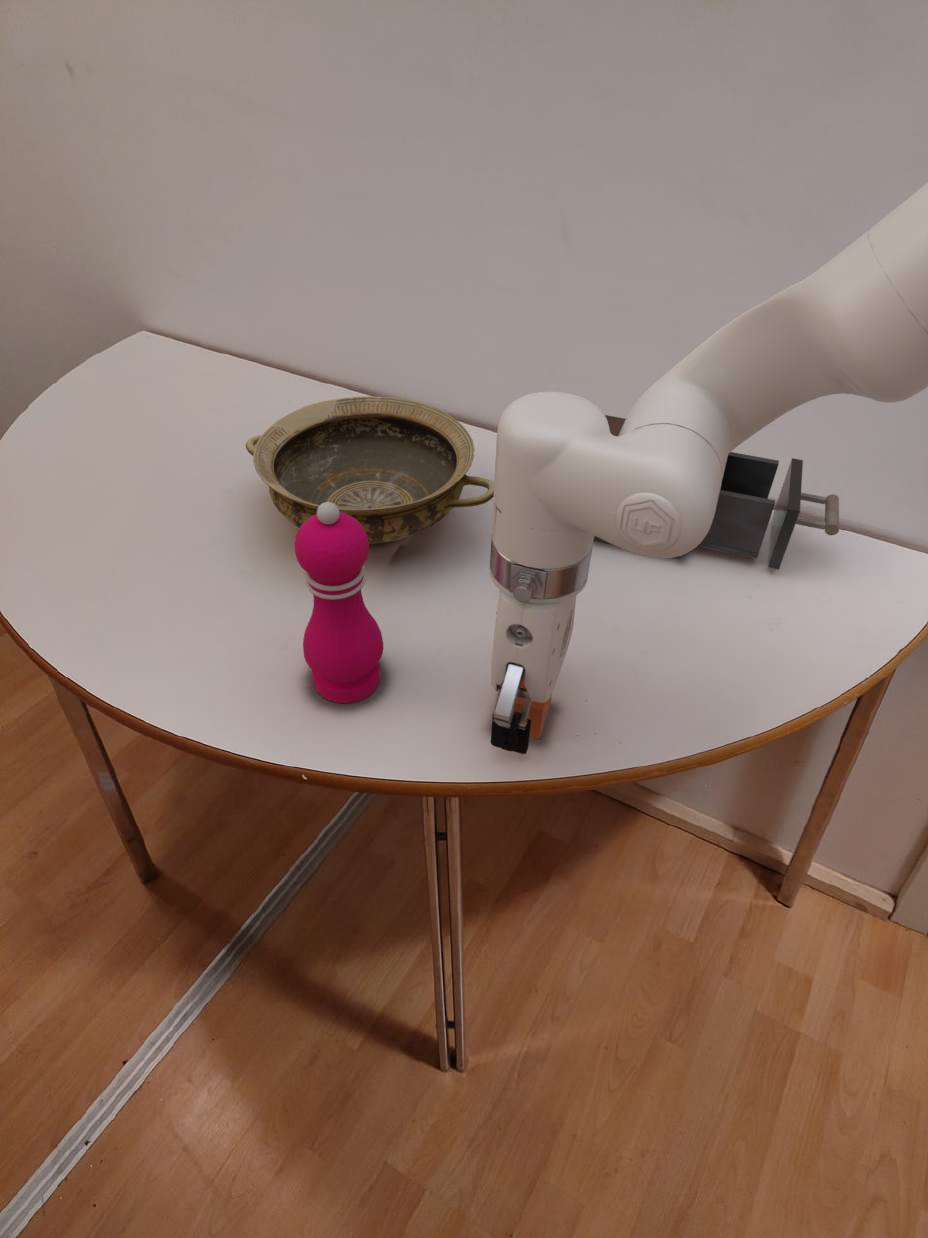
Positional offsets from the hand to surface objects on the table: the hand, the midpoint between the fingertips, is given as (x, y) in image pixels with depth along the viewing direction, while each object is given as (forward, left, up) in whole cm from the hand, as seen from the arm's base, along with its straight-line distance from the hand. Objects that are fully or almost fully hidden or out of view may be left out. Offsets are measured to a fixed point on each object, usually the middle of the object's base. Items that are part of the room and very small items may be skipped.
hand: (524, 707), depth 73 cm
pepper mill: (+17, +1, -2) cm, 17 cm away
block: (0, 0, -1) cm, 1 cm away
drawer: (-16, -34, 0) cm, 38 cm away
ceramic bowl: (+25, -23, -2) cm, 34 cm away
